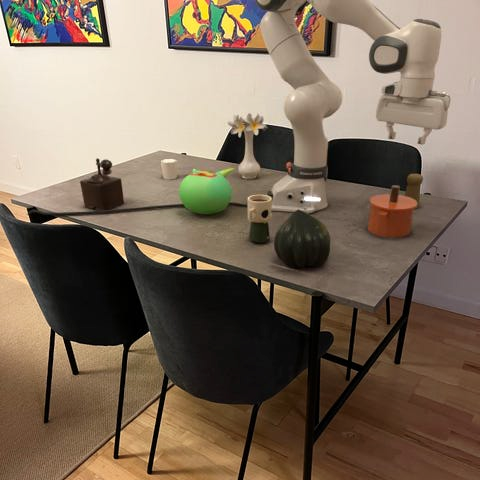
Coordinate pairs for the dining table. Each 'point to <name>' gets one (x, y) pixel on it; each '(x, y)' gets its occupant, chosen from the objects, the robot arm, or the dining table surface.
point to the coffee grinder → (102, 189)
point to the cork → (414, 187)
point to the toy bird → (206, 191)
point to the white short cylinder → (169, 168)
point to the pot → (390, 222)
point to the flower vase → (248, 142)
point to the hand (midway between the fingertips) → (406, 141)
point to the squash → (302, 241)
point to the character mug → (259, 217)
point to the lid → (393, 201)
